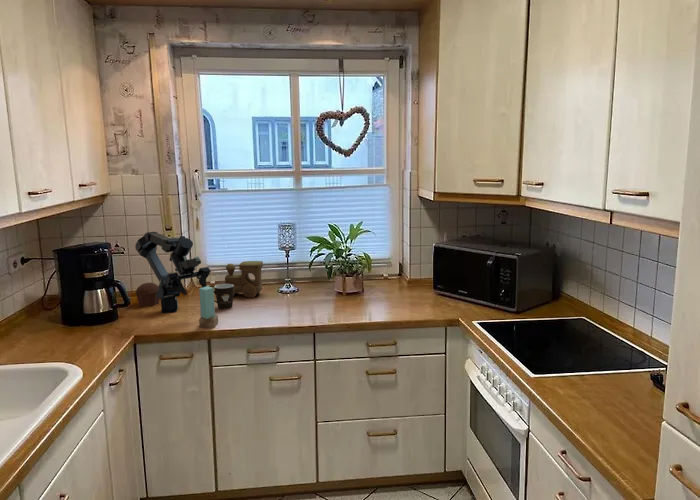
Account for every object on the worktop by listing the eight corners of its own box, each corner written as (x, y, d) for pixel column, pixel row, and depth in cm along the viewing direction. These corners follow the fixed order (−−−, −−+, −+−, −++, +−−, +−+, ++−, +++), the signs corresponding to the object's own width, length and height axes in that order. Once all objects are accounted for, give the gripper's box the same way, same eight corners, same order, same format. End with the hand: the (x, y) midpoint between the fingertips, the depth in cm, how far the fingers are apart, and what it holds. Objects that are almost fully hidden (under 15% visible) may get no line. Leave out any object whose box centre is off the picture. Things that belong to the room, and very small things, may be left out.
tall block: (200, 316, 215) (199, 288, 213) (209, 314, 218) (207, 286, 216) (206, 318, 213) (204, 290, 210) (215, 316, 216) (213, 288, 213)
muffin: (156, 307, 244) (154, 286, 243) (132, 307, 244) (130, 286, 243) (165, 300, 256) (164, 280, 254) (142, 301, 256) (141, 280, 254)
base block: (199, 328, 213) (199, 319, 213) (203, 324, 219) (203, 314, 218) (214, 328, 213) (214, 319, 213) (218, 324, 219) (217, 314, 218)
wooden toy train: (264, 292, 269) (263, 260, 266) (260, 298, 258) (258, 264, 255) (225, 292, 270) (224, 260, 267) (219, 298, 259) (217, 265, 256)
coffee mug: (237, 304, 247) (236, 283, 245) (231, 310, 238) (230, 288, 236) (213, 304, 248) (211, 283, 246) (206, 309, 239) (204, 288, 238)
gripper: (165, 254, 214) (181, 285, 208) (207, 248, 227) (222, 277, 221) (158, 270, 221) (173, 301, 215) (198, 263, 234) (213, 292, 228)
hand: (196, 292), depth 220 cm, fingers open, 9 cm apart
